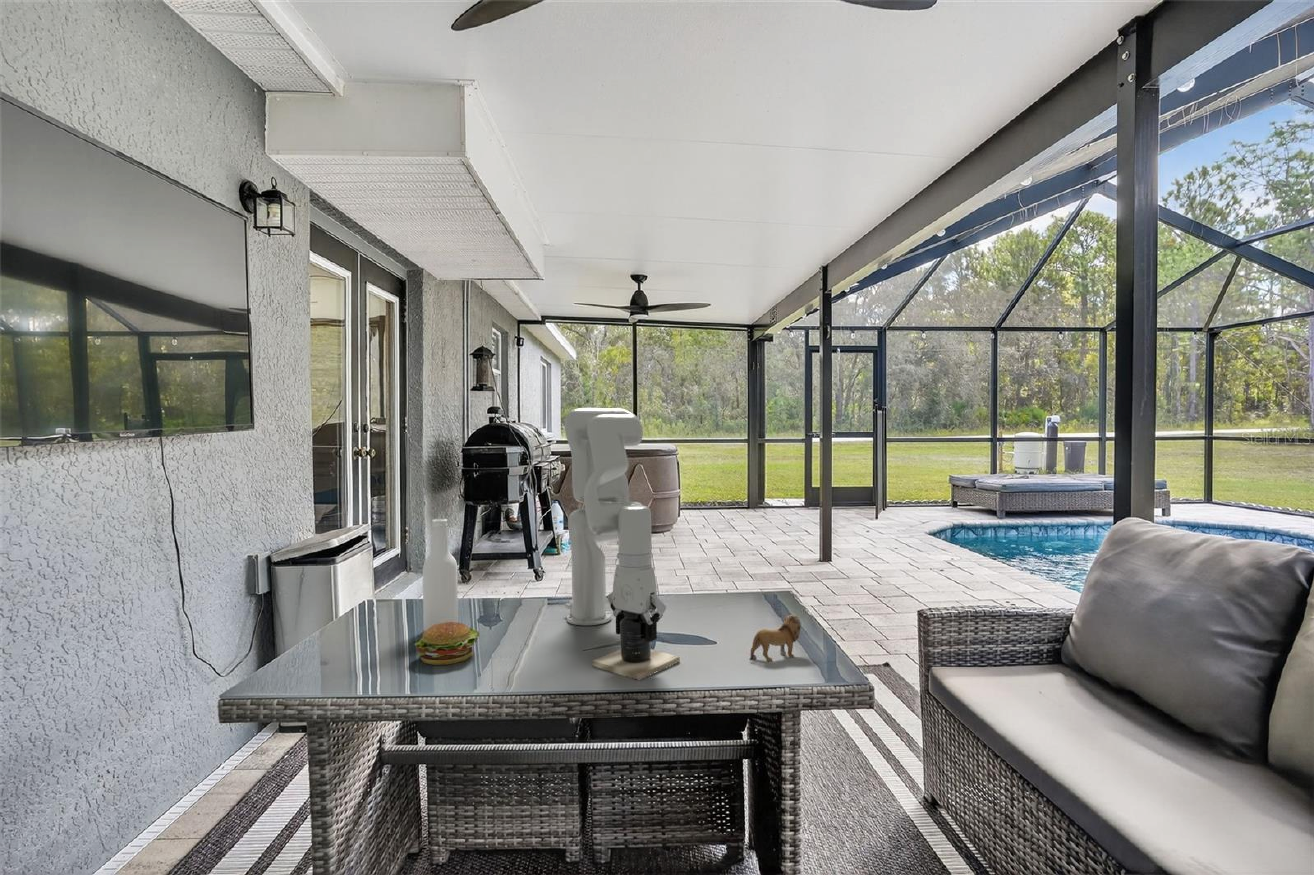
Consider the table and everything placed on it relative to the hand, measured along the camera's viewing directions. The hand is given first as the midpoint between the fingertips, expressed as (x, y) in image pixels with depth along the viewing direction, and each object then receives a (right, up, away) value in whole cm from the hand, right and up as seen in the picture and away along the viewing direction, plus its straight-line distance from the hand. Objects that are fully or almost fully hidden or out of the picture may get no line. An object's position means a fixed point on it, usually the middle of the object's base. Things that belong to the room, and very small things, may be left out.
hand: (636, 636), depth 144 cm
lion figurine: (+33, -6, +4) cm, 33 cm away
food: (-44, -7, +6) cm, 45 cm away
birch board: (0, -6, 0) cm, 6 cm away
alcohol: (-53, -7, +26) cm, 60 cm away
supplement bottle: (0, -5, 0) cm, 5 cm away
